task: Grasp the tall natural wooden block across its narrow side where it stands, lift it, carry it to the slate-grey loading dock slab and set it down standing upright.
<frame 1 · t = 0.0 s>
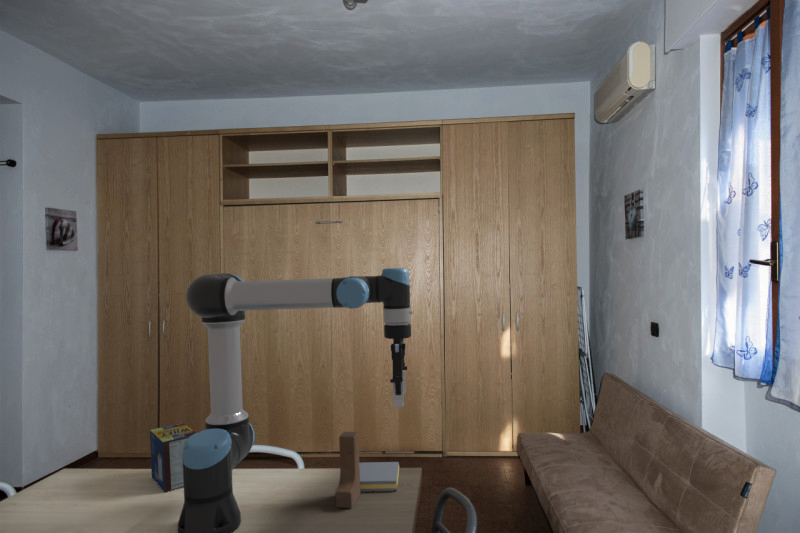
hand: (400, 399, 140), 28 cm above the table, fingers open, 13 cm apart
wooden block: (348, 501, 141), on the table
dock: (374, 481, 154), on the table
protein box: (175, 480, 160), on the table
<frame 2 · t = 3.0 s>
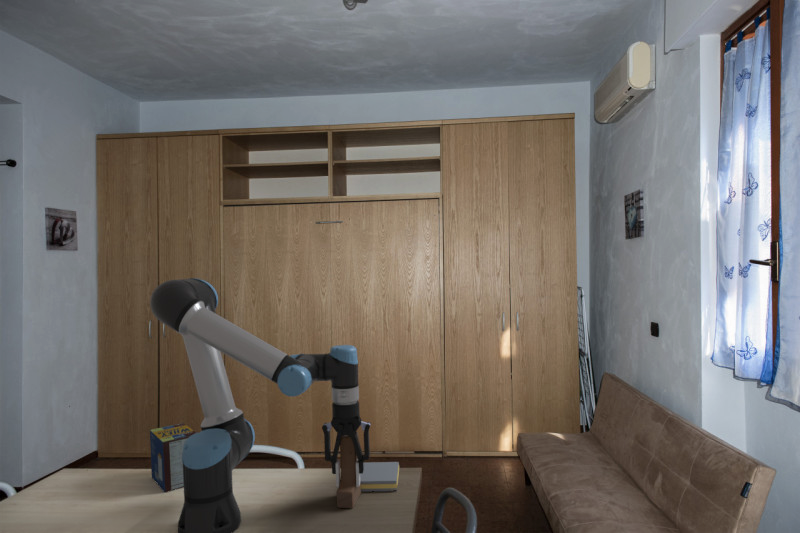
hand: (348, 484, 141), 5 cm above the table, fingers closed on wooden block, 5 cm apart
wooden block: (349, 501, 141), on the table, touching gripper
everything else where it was.
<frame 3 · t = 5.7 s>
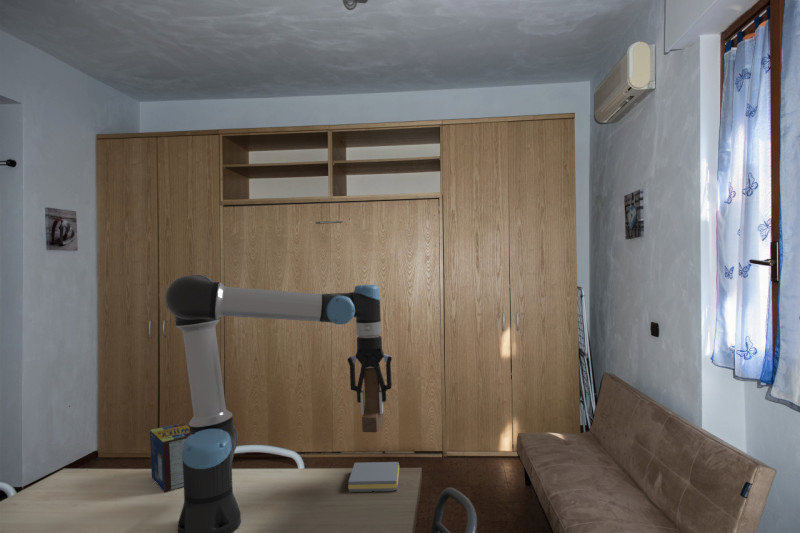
hand: (372, 412, 153), 21 cm above the table, fingers closed on wooden block, 5 cm apart
wooden block: (373, 428, 153), point 16 cm above the table, touching gripper
everything else where it was.
when the fingers open (9 cm above the table, at t = 8.3 s): wooden block drops 1 cm, resting on dock.
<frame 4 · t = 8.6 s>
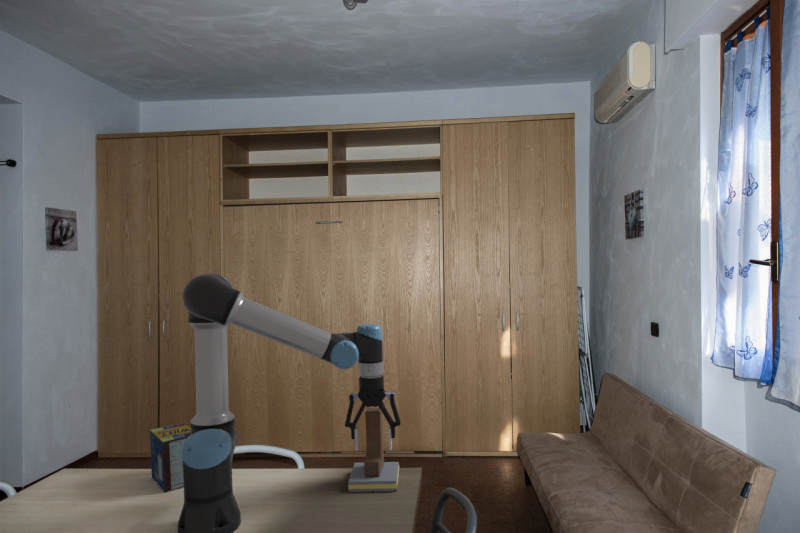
hand: (373, 449, 154), 10 cm above the table, fingers open, 9 cm apart
wooden block: (374, 471, 154), point 3 cm above the table, touching dock
everything else where it was.
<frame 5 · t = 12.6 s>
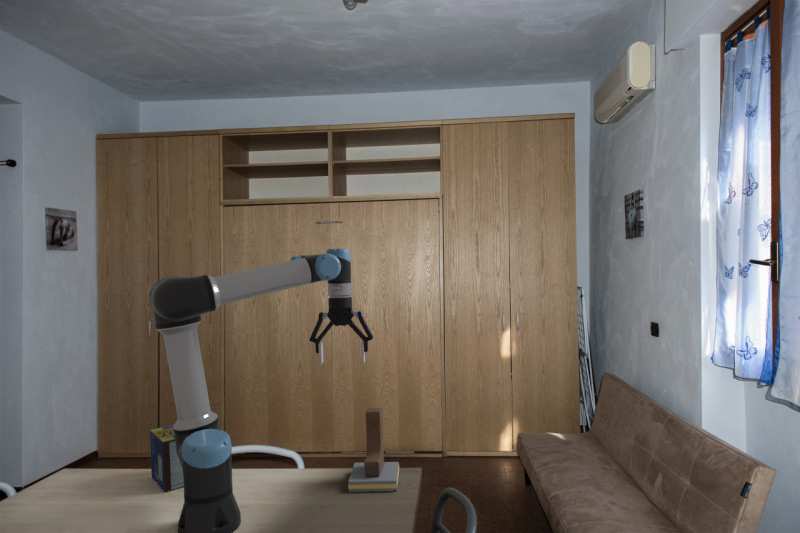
hand: (342, 362, 162), 35 cm above the table, fingers open, 13 cm apart
nothing on the table moved.
at the end: wooden block touching dock; wooden block tilted 0° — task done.
